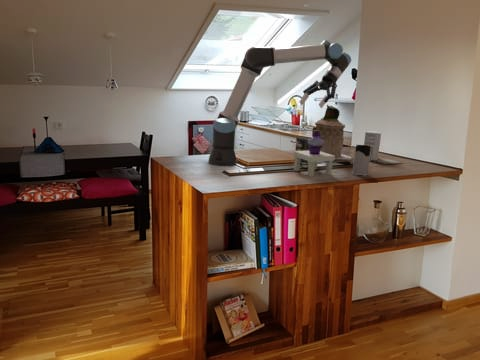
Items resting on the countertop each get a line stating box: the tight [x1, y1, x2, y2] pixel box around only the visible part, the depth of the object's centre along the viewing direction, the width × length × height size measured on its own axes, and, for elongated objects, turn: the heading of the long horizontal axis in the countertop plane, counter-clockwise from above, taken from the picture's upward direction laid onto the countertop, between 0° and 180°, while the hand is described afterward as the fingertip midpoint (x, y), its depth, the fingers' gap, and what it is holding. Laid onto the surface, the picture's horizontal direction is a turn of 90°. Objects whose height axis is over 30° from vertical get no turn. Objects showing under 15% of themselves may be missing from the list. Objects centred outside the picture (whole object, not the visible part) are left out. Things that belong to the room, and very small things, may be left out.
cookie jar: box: [311, 104, 352, 161], centre depth 281 cm, size 25×25×32 cm
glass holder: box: [351, 144, 373, 176], centre depth 241 cm, size 9×14×15 cm, turn 135°
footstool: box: [292, 151, 336, 177], centre depth 237 cm, size 15×15×10 cm
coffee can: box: [294, 136, 313, 165], centre depth 260 cm, size 10×10×14 cm
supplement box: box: [363, 130, 382, 161], centre depth 284 cm, size 10×9×17 cm
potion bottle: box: [308, 130, 324, 155], centre depth 234 cm, size 9×9×12 cm
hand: (310, 104), depth 241 cm, fingers open, 13 cm apart
